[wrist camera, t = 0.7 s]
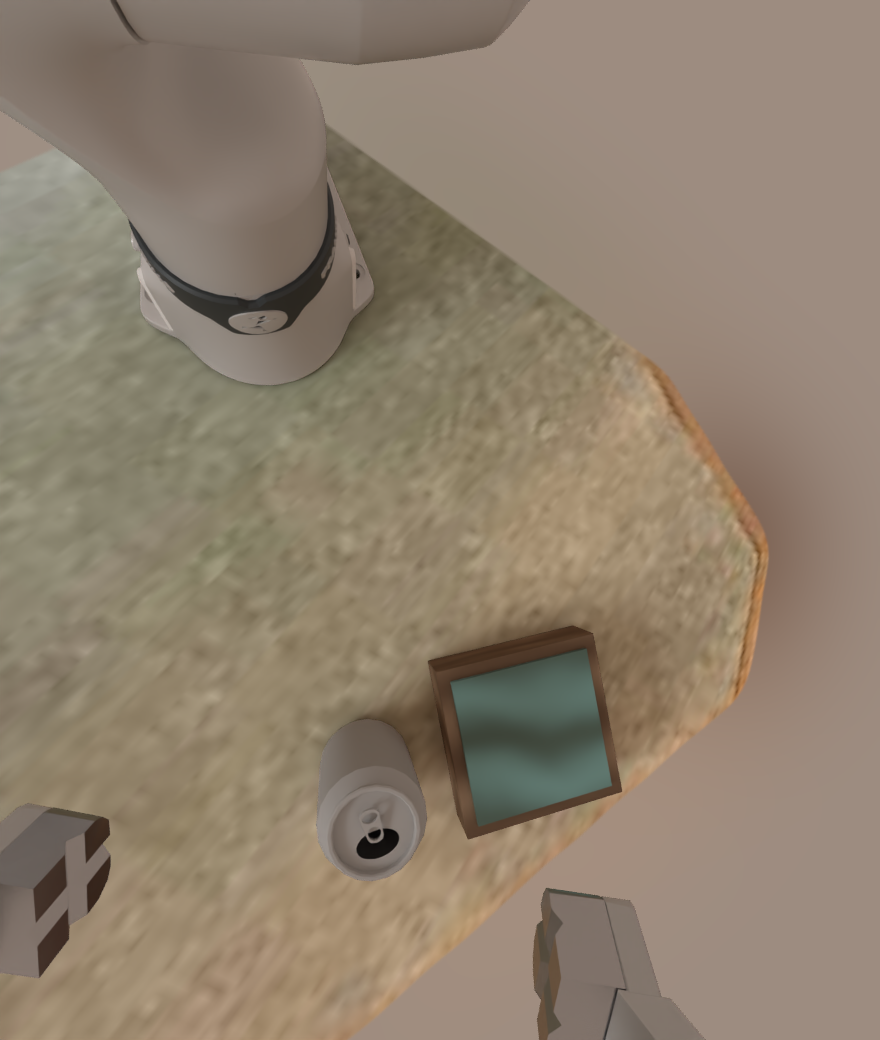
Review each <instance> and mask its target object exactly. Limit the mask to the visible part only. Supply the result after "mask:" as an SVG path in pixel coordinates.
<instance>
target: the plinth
mask: <svg viewBox="0 0 880 1040" xmlns="http://www.w3.org/2000/svg"><path fill="white" fill-rule="evenodd" d="M428 664H429V669H430V674H431V680H432V685H433V690H434V695H435V701H436V706H437V711H438V716H439V721H440V727H441V732H442V737H443V742H444V748H445V753H446V758H447V763H448V769H449V774H450V779H451V784H452V789H453V795H454V800H455V805H456V810H457V815H458V817H459V820H460V822H461V824H462V827H463V829H464V831H465V834H466V836H467V838H468V839H471V838H475V837H478V836H481V835H484V834H488V833H491V832H494V831H497V830H500V829H504V828H507V827H510V826H513V825H517V824H520V823H523V822H526V821H529V820H533V819H536V818H539V817H542V816H546V815H549V814H552V813H555V812H558V811H562V810H565V809H568V808H571V807H575V806H578V805H581V804H584V803H587V802H591V801H594V800H597V799H600V798H604V797H607V796H610V795H613V794H616V793H620V792H622V788H621V782H620V777H619V771H618V766H617V761H616V755H615V750H614V744H613V739H612V733H611V728H610V723H609V717H608V712H607V706H606V701H605V695H604V690H603V685H602V679H601V674H600V668H599V663H598V658H597V652H596V647H595V641H594V636H593V633H590V632H588V631H585V630H583V629H580V628H578V627H575V626H570V627H566V628H562V629H557V630H553V631H549V632H545V633H541V634H537V635H533V636H529V637H524V638H520V639H516V640H512V641H508V642H504V643H500V644H496V645H492V646H487V647H483V648H479V649H475V650H471V651H467V652H463V653H459V654H454V655H450V656H446V657H442V658H438V659H434V660H430V661H428Z"/></svg>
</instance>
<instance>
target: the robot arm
mask: <svg viewBox="0 0 880 1040" xmlns="http://www.w3.org/2000/svg"><path fill="white" fill-rule="evenodd" d="M529 1H530V0H0V111H2V112H3V113H5V114H6V115H8V116H9V117H11V118H12V119H14V120H15V121H17V122H19V123H20V124H21V125H23V126H25V127H26V128H28V129H29V130H31V131H32V132H34V133H35V134H37V135H38V136H39V137H41V138H43V139H44V140H45V141H47V142H48V143H50V144H51V145H53V146H54V147H56V148H57V149H58V150H60V151H61V152H63V153H64V154H65V155H67V156H68V157H70V158H71V159H72V160H74V161H75V162H76V163H78V164H79V165H80V166H81V167H83V168H84V169H85V170H87V171H88V172H89V173H90V174H91V175H93V176H94V177H95V178H96V179H97V180H98V181H99V182H100V183H101V184H102V185H103V187H104V188H105V189H106V191H107V192H108V193H109V194H110V196H111V197H112V198H113V199H114V201H115V202H116V203H117V204H118V206H119V207H120V208H121V210H122V211H123V212H124V214H125V215H126V216H127V218H128V220H129V224H130V226H131V229H132V231H131V241H132V245H133V248H134V250H136V251H140V252H141V267H140V268H138V269H137V274H138V277H139V280H140V282H141V287H140V308H141V312H142V314H143V316H144V318H145V320H146V321H147V322H148V323H149V324H150V325H152V326H153V327H155V328H156V329H158V330H160V331H162V332H165V333H167V334H169V335H171V336H174V337H176V338H178V339H180V340H181V341H182V342H184V343H185V344H186V345H187V346H188V347H189V348H190V349H191V350H192V351H193V352H194V353H195V354H196V355H197V356H198V357H199V358H200V359H201V360H202V361H203V362H204V363H206V364H207V365H208V366H210V367H211V368H212V369H214V370H216V371H217V372H219V373H221V374H223V375H225V376H227V377H229V378H232V379H234V380H238V381H241V382H245V383H250V384H257V385H277V384H283V383H288V382H292V381H295V380H298V379H300V378H303V377H305V376H307V375H309V374H311V373H312V372H314V371H315V370H317V369H318V368H320V367H321V366H322V365H323V364H324V363H325V362H326V361H327V360H328V359H329V358H330V357H331V356H332V355H333V354H334V352H335V351H336V350H337V348H338V346H339V345H340V343H341V341H342V339H343V337H344V334H345V332H346V330H347V328H348V325H349V323H350V322H351V320H352V319H353V317H355V316H356V315H357V314H358V313H359V312H360V311H361V310H363V309H364V308H365V307H366V306H367V305H368V304H369V302H370V301H371V300H372V298H373V296H374V284H373V281H372V278H371V276H370V273H369V271H368V268H367V265H366V263H365V260H364V258H363V255H362V253H361V250H360V248H359V245H358V243H357V240H356V238H355V235H354V233H353V230H352V228H351V225H350V222H349V220H348V217H347V215H346V212H345V210H344V207H343V205H342V202H341V200H340V197H339V195H338V192H337V190H336V187H335V184H334V182H333V179H332V177H331V174H330V172H329V169H328V167H327V148H326V127H325V120H324V115H323V110H322V107H321V104H320V101H319V98H318V95H317V92H316V90H315V88H314V85H313V83H312V81H311V79H310V77H309V75H308V73H307V71H306V69H305V67H304V65H303V63H302V62H301V60H300V59H308V60H317V61H326V62H334V63H343V64H352V65H361V64H370V63H380V62H389V61H398V60H408V59H417V58H425V57H431V56H437V55H443V54H448V53H454V52H460V51H466V50H472V49H478V48H484V47H487V46H488V45H490V44H492V43H493V42H494V41H495V40H496V39H497V38H498V37H499V36H500V35H501V34H502V33H503V32H504V31H505V30H506V29H507V28H508V27H509V26H510V25H511V24H512V22H513V21H514V20H515V19H516V17H517V16H518V15H519V14H520V12H521V11H522V10H523V9H524V7H525V6H526V4H527V3H528V2H529ZM356 273H358V274H359V276H360V277H359V278H358V279H356ZM109 835H110V828H109V820H108V819H106V818H104V817H101V816H95V815H90V814H85V813H80V812H75V811H69V810H64V809H59V808H54V807H53V808H51V807H46V806H40V805H35V804H30V803H27V804H25V805H22V806H20V807H18V808H16V809H15V810H14V811H13V812H12V813H11V814H10V815H9V816H7V817H6V818H5V819H4V820H3V821H2V822H1V823H0V973H5V974H12V975H19V976H26V977H34V978H40V976H41V975H42V974H43V973H44V971H45V970H46V969H47V967H48V966H49V965H50V963H51V962H52V961H53V959H54V958H55V957H56V955H57V954H58V953H59V951H60V950H61V949H62V948H63V946H64V945H65V944H66V942H67V941H68V940H69V928H70V925H71V924H72V923H74V922H76V921H77V920H79V919H81V918H82V917H84V916H86V915H87V914H88V913H89V912H90V910H91V909H92V907H93V906H94V905H95V903H96V902H97V901H98V899H99V897H100V895H101V893H102V891H103V889H104V887H105V884H106V882H107V880H108V876H109V871H110V866H111V858H110V853H109V852H108V851H107V849H106V848H105V846H104V845H103V842H104V841H105V840H106V839H107V838H108V836H109ZM541 910H542V919H543V920H542V921H541V922H540V923H539V924H537V927H536V933H535V939H534V950H533V976H534V989H535V991H536V993H537V994H538V996H539V998H540V999H541V1003H540V1008H539V1013H538V1018H537V1022H538V1033H539V1040H705V1039H704V1037H703V1036H702V1035H701V1034H700V1033H699V1031H698V1030H697V1029H696V1028H695V1027H694V1026H693V1024H692V1023H691V1022H690V1021H689V1020H688V1019H687V1018H686V1016H685V1015H684V1014H683V1013H682V1012H681V1010H680V1009H679V1008H678V1007H677V1006H676V1004H675V1003H674V1002H673V1001H672V1000H671V999H670V998H665V997H661V993H660V990H659V987H658V983H657V980H656V977H655V974H654V970H653V967H652V964H651V961H650V957H649V954H648V951H647V947H646V944H645V941H644V937H643V934H642V931H641V928H640V924H639V921H638V918H637V914H636V911H635V908H634V906H633V904H632V903H631V902H630V900H623V899H616V898H609V897H603V896H602V897H600V896H597V895H590V894H584V893H577V892H570V891H564V890H556V889H550V888H546V889H545V891H544V893H543V897H542V902H541Z"/></svg>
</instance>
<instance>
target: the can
mask: <svg viewBox="0 0 880 1040" xmlns="http://www.w3.org/2000/svg"><path fill="white" fill-rule="evenodd" d="M426 821H427V813H426V805H425V799H424V796H423V793H422V790H421V787H420V784H419V781H418V778H417V775H416V772H415V769H414V766H413V763H412V760H411V757H410V754H409V751H408V748H407V746H406V744H405V742H404V740H403V738H402V736H401V735H400V734H399V733H398V732H397V731H396V730H395V729H394V728H393V727H392V726H390V725H388V724H386V723H384V722H382V721H379V720H372V719H364V720H358V721H353V722H351V723H349V724H347V725H345V726H343V727H342V728H340V729H339V730H338V731H337V732H336V733H335V734H334V735H333V736H332V737H331V738H330V739H329V741H328V743H327V744H326V746H325V748H324V750H323V753H322V758H321V763H320V773H319V790H318V807H317V823H316V826H317V834H318V842H319V844H320V846H321V848H322V850H323V852H324V854H325V856H326V858H327V859H328V860H329V861H330V862H331V863H332V864H333V865H334V866H335V867H336V868H338V869H339V870H340V871H342V872H343V873H344V874H345V875H347V876H350V877H352V878H354V879H357V880H364V881H375V880H379V879H383V878H387V877H389V876H391V875H392V874H394V873H396V872H398V871H399V870H401V869H402V868H403V867H404V866H405V865H406V864H407V862H408V861H409V860H410V859H411V858H412V856H413V854H414V852H415V851H416V849H417V847H418V845H419V843H420V841H421V840H422V838H423V836H424V832H425V826H426Z"/></svg>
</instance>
